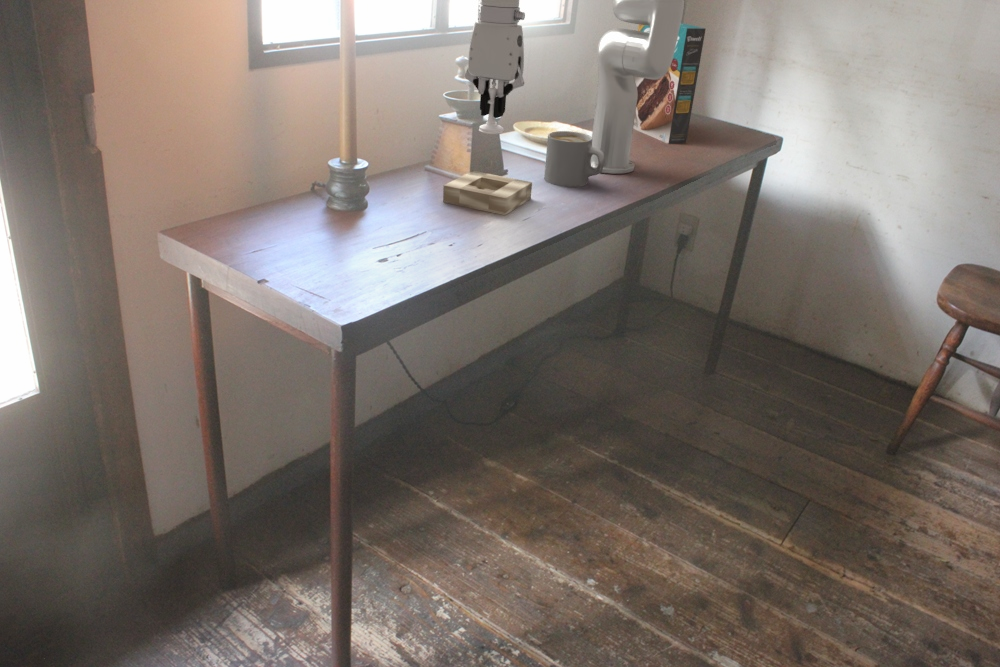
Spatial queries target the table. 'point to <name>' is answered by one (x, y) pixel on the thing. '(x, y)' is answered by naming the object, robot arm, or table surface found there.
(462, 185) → the socket board
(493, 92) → the chess piece
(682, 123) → the cake mix box
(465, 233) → the table surface
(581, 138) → the coffee mug
